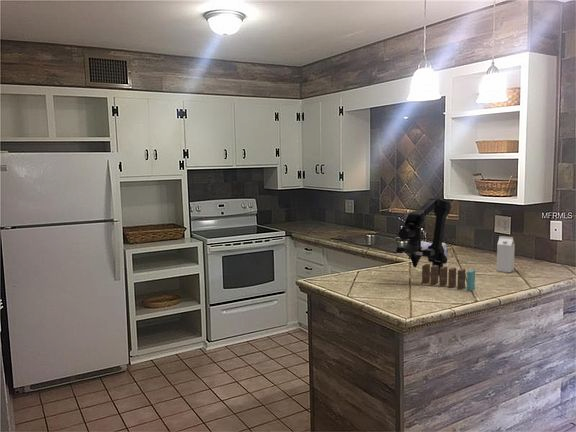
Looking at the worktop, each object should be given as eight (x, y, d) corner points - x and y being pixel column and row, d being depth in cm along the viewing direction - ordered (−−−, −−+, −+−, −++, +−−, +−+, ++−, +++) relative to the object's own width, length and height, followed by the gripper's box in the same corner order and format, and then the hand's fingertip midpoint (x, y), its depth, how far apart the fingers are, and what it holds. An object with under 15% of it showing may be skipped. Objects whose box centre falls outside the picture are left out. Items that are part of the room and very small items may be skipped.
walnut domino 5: (457, 288, 232) (457, 270, 231) (461, 286, 236) (461, 268, 235) (461, 289, 231) (461, 271, 230) (465, 287, 235) (465, 269, 234)
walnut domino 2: (430, 284, 241) (430, 266, 240) (434, 282, 245) (434, 265, 244) (434, 285, 240) (434, 267, 238) (438, 282, 243) (438, 265, 242)
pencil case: (448, 256, 304) (448, 241, 303) (443, 259, 297) (443, 244, 296) (416, 253, 317) (417, 238, 316) (411, 255, 310) (411, 240, 309)
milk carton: (500, 268, 270) (501, 235, 268) (513, 270, 265) (515, 236, 263) (496, 271, 264) (497, 236, 262) (510, 272, 260) (511, 238, 258)
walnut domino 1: (422, 283, 244) (422, 265, 243) (426, 281, 248) (426, 263, 246) (425, 283, 242) (426, 266, 241) (429, 281, 246) (430, 264, 245)
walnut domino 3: (439, 285, 238) (439, 268, 237) (443, 283, 242) (443, 266, 241) (443, 286, 237) (443, 268, 236) (447, 284, 241) (447, 266, 239)
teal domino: (466, 290, 229) (467, 271, 228) (470, 287, 233) (470, 269, 232) (470, 290, 228) (471, 272, 227) (474, 288, 232) (475, 270, 231)
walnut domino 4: (448, 287, 235) (448, 269, 234) (452, 285, 239) (452, 267, 238) (452, 287, 234) (452, 269, 233) (456, 285, 238) (456, 267, 237)
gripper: (391, 238, 246) (391, 268, 248) (426, 241, 234) (425, 273, 236) (401, 235, 254) (401, 264, 256) (435, 238, 242) (434, 268, 244)
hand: (414, 267), depth 248 cm, fingers closed
